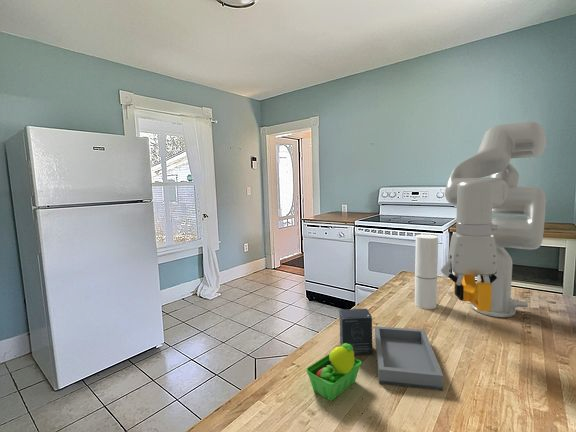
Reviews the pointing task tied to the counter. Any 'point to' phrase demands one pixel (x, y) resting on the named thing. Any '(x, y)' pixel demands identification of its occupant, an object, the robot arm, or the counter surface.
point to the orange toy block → (477, 293)
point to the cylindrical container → (426, 271)
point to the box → (356, 330)
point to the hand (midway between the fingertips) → (470, 298)
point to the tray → (406, 359)
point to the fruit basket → (334, 372)
